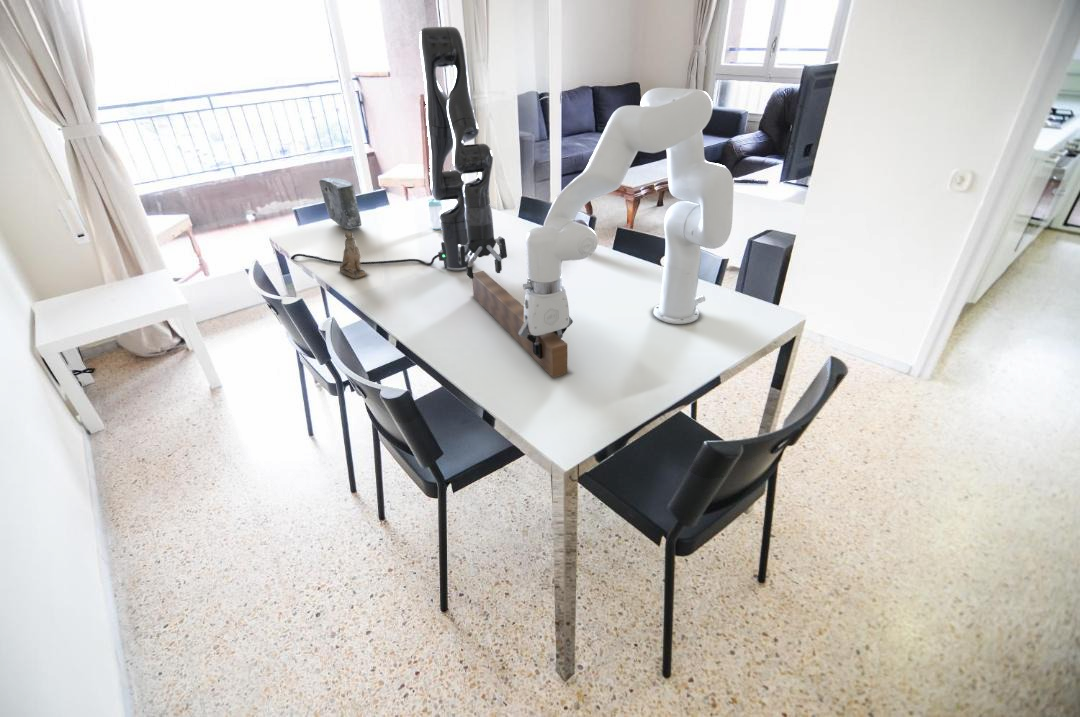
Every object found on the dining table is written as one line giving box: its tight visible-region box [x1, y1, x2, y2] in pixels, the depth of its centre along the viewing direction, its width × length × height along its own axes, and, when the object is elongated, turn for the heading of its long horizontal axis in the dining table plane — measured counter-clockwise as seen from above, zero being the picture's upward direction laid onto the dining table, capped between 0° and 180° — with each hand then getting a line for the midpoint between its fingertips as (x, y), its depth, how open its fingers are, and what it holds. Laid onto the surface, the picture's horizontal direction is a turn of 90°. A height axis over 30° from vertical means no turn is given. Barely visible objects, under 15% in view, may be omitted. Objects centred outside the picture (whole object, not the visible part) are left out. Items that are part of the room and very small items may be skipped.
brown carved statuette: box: [339, 229, 367, 280], centre depth 174 cm, size 12×6×18 cm, turn 43°
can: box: [426, 198, 445, 230], centre depth 220 cm, size 7×7×12 cm
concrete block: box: [318, 176, 362, 230], centre depth 224 cm, size 27×9×20 cm, turn 36°
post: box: [471, 270, 569, 379], centre depth 136 cm, size 53×4×8 cm, turn 27°
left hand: (484, 275), depth 148 cm, fingers open, 8 cm apart
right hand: (547, 352), depth 121 cm, fingers closed on post, 4 cm apart
